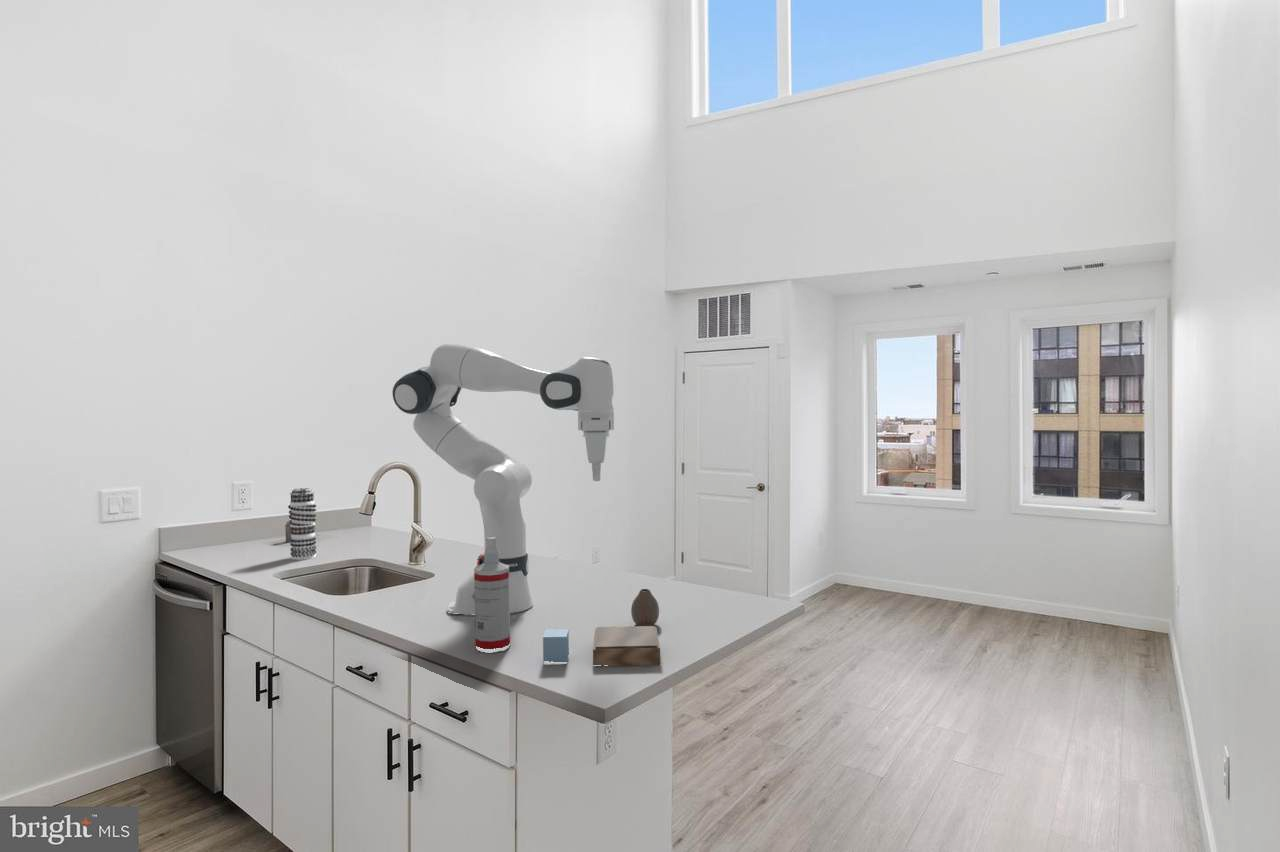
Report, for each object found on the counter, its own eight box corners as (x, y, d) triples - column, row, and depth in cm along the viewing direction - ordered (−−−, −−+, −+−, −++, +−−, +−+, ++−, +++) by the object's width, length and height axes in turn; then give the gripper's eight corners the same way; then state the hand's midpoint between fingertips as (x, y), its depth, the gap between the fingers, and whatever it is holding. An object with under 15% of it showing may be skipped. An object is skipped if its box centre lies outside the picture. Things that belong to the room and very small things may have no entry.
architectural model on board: (290, 543, 283) (289, 519, 283) (285, 543, 285) (285, 519, 284) (315, 539, 293) (315, 515, 293) (311, 538, 294) (310, 515, 294)
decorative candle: (303, 560, 250) (301, 490, 249) (283, 559, 253) (281, 489, 252) (323, 555, 258) (321, 487, 257) (303, 553, 261) (302, 487, 261)
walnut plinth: (593, 666, 146) (592, 647, 146) (595, 643, 160) (595, 626, 160) (660, 665, 147) (660, 646, 147) (656, 642, 161) (656, 625, 161)
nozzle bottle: (478, 655, 154) (476, 541, 153) (472, 644, 160) (470, 536, 160) (514, 650, 157) (512, 538, 156) (506, 639, 163) (504, 533, 163)
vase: (639, 631, 169) (639, 595, 169) (626, 623, 175) (626, 588, 175) (664, 626, 172) (664, 591, 172) (650, 619, 178) (650, 585, 178)
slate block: (543, 665, 147) (542, 637, 147) (545, 657, 152) (545, 629, 152) (567, 664, 148) (566, 636, 147) (568, 656, 153) (568, 629, 152)
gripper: (584, 422, 183) (584, 475, 184) (582, 424, 163) (582, 483, 163) (608, 422, 184) (609, 474, 184) (609, 423, 163) (609, 483, 164)
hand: (596, 478), depth 174 cm, fingers open, 8 cm apart
